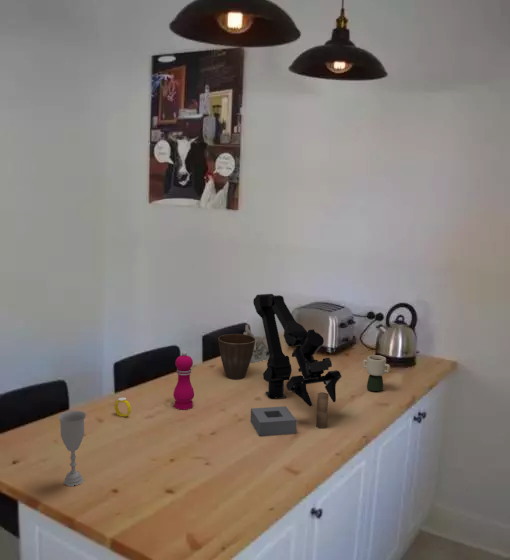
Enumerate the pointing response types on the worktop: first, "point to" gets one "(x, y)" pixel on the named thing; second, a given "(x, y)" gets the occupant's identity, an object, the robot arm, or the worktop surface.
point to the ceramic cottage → (258, 347)
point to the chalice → (72, 441)
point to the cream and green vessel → (376, 371)
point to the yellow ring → (125, 403)
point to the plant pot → (236, 354)
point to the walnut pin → (322, 410)
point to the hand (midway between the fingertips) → (323, 403)
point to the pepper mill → (183, 383)
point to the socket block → (273, 421)
